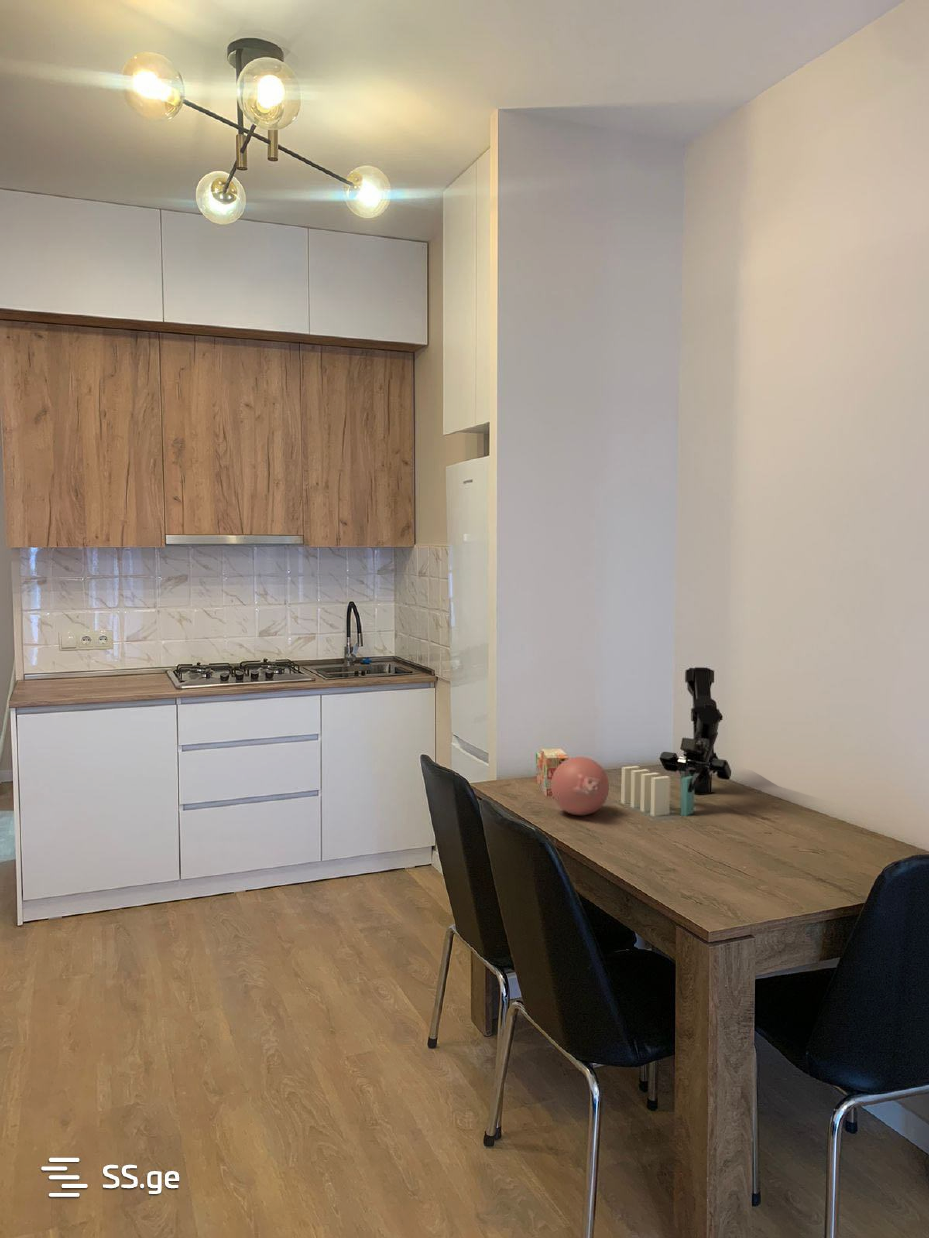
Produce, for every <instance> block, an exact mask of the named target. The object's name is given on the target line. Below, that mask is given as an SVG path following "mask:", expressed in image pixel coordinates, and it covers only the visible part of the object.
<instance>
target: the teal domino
mask: <svg viewBox="0 0 929 1238" xmlns="http://www.w3.org/2000/svg"><path fill="white" fill-rule="evenodd" d="M692 778H693V776H687V777H685V778H682V779H681V778H680V816H685V817H687V816H689V815H692V814H693V813H694V812H695V794H694V790H693V791H692V792H690V793H689V792H688V789H689V785H690V782H691V780H692Z"/></svg>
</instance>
